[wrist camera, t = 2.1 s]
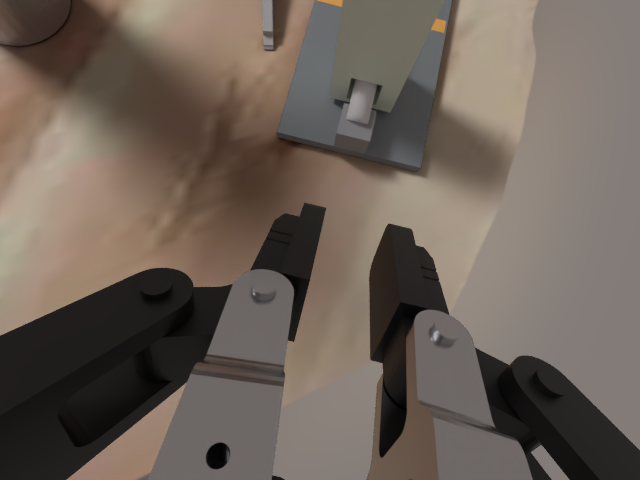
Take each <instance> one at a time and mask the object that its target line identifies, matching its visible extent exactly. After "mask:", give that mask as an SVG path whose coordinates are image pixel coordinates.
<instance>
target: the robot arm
mask: <svg viewBox="0 0 640 480" xmlns="http://www.w3.org/2000/svg"><path fill="white" fill-rule="evenodd" d="M70 4H71V0H0V43H1V44H5V45H11V46H22V45H30V44H33V43H37V42H40V41H42V40H44V39H46V38H48V37H50V36H51V35H52V34H54V33H55V32H56V31H57V30H58V29H59V28H60V27H61V26H62V25H63V24H64V22H65V20H66V19H67V17H68V14H69V11H70ZM325 211H326V208H324V207H320V206H316V205H312V204H308V203H304V206H303V208H302V211H301V214H300V217H298V216H294V215H290V214H286V213H285V214H284V215H282V216H280V217H279V218H277V219H276V220H275V221H274V223H273V225H272V227H271V229H270V232H269V233H268V235H267V237H266V240H265V241H264V243H263V245H262V247H261V250H260V252H259V254H258V256H257V258H256V260H255V262H254V264H253V266H252V268H251V270H250V271H248V272H245V273H243V274H242V275H240V276H239V277H238V278H237V279H236V280H235V281H234V283H233V284H231V285H228V286H222V287H193V283H192V281H191V279H190V278H189V277H188V276H187V275H186V274H185V273H183V272H181V271H179V270H175V269H170V268H154V269H149V270H145V271H142V272H140V273H137V274H135V275H133V276H131V277H128V278H126V279H124V280H122V281H120V282H117V283H115V284H113V285H111V286H109V287H106V288H104V289H102V290H100V291H98V292H95V293H93V294H91V295H89V296H87V297H84V298H82V299H80V300H78V301H76V302H74V303H71V304H69V305H67V306H65V307H63V308H60V309H58V310H56V311H54V312H52V313H49V314H47V315H45V316H43V317H41V318H38V319H36V320H34V321H32V322H30V323H27V324H25V325H23V326H21V327H19V328H16V329H14V330H12V331H10V332H8V333H5V334H3V335H1V336H0V480H66V479H68V478H69V477H70V476H71V475H73V474H74V473H75V472H76V471H78V470H79V469H80V468H81V467H82V466H84V465H85V464H86V463H87V462H89V461H90V460H91V459H92V458H94V457H95V456H96V455H97V454H99V453H100V452H101V451H102V450H104V449H105V448H106V447H107V446H108V445H110V444H111V443H112V442H113V441H115V440H116V439H117V438H118V437H120V436H121V435H122V434H123V433H125V432H126V431H127V430H128V429H129V428H131V427H132V426H133V425H134V424H136V423H137V422H138V421H139V420H141V419H142V418H143V417H144V416H146V415H147V414H148V413H149V412H150V411H152V410H153V409H154V408H155V407H157V406H158V405H159V404H160V403H162V402H163V401H164V400H165V399H167V398H168V397H169V396H170V395H172V394H173V393H174V392H175V391H176V390H178V389H179V388H180V387H181V386H183V385H184V384H185V383H186V382H187V384H186V386H185V389H184V391H183V394H182V396H181V399H180V401H179V404H178V406H177V409H176V411H175V414H174V416H173V419H172V421H171V424H170V426H169V429H168V431H167V434H166V436H165V439H164V441H163V444H162V446H161V449H160V451H159V454H158V456H157V459H156V461H155V464H154V466H153V469H152V471H151V474H150V476H149V479H148V480H284V479H283V478H281V477H277V476H272V473H273V465H274V457H275V450H276V442H277V434H278V427H279V418H280V411H281V403H282V396H283V388H284V378H285V373H284V364H285V356H286V349H287V341H288V340H289V341H293V342H294V340H295V336H296V332H297V328H298V324H299V320H300V316H301V312H302V308H303V304H304V300H305V297H306V293H307V289H308V285H309V281H310V277H311V272H312V268H313V263H314V259H315V255H316V250H317V246H318V241H319V237H320V233H321V228H322V224H323V220H324V215H325ZM369 285H370V358H371V360H372V361H376V362H380V363H383V374H382V376H381V377H380V379H379V381H378V384H377V393H376V407H375V421H374V436H373V450H372V461H371V466H370V470H369V473H368V476H367V479H366V480H551V478H550V477H549V476H548V474H547V473H546V472H545V471H544V469H543V468H542V467H541V465H540V464H539V463H538V461H537V460H536V459H535V458H534V456H533V455H532V454H531V451H533V450H534V449H536V448H537V447H539V446H540V445H542V446H543V447H544V448H545V449H546V451H547V452H548V453H549V454H550V456H551V457H552V458H553V459H554V461H555V462H556V463H557V464H558V466H559V467H560V468H561V469H562V470H563V472H564V473H565V474H566V475H567V477H568V478H569V479H570V480H640V450H639V449H638V448H637V447H636V446H635V445H634V444H633V443H632V442H631V441H629V439H628V438H626V436H625V435H624V434H622V432H621V431H620V430H619V429H618V428H617V427H615V425H614V424H612V422H611V421H610V420H609V419H608V418H607V417H606V416H605V415H604V414H603V413H601V412H600V410H598V409H597V407H596V406H594V405H593V404H592V403H591V402H590V401H589V400H588V399H587V398H586V397H585V396H584V395H583V394H582V393H581V392H580V391H579V390H578V389H577V388H576V387H575V386H574V385H573V384H572V383H571V382H570V381H569V380H568V379H567V378H566V377H565V376H564V375H563V374H562V373H561V372H560V371H558V370H557V369H556V368H554V367H553V366H551V365H550V364H548V363H546V362H544V361H543V360H540V359H538V358H535V357H532V356H519V357H517V358H516V359H515V360H514V361H513V362H512V363H511V364H510V365H508V364H506V363H504V362H502V361H500V360H498V359H496V358H494V357H492V356H490V355H488V354H486V353H484V352H482V351H480V350H479V349H477V348H475V346H474V342H473V339H472V337H471V335H470V334H469V332H468V330H467V329H466V328H465V327H464V326H463V325H462V324H461V323H460V322H459V321H458V320H456V319H455V318H453V317H452V316H450V315H449V312H448V308H447V305H446V302H445V298H444V295H443V292H442V288H441V285H440V282H439V278H438V275H437V272H436V268H435V264H434V261H433V258H432V257H431V256H430V255H429V253H428V252H427V251H426V250H425V248H424V247H420V246H416V244H415V240H414V236H413V232H412V229H409V228H405V227H401V226H397V225H393V224H388V225H387V227H386V229H385V231H384V234H383V236H382V239H381V241H380V244H379V246H378V249H377V251H376V254H375V256H374V259H373V262H372V265H371V269H370V276H369Z"/></svg>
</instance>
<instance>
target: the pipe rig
mask: <svg viewBox="0 0 640 480" xmlns="http://www.w3.org/2000/svg"><path fill="white" fill-rule="evenodd" d="M342 4H343V0H315V2H314V5H313V9H312V12H311V16H310V19H309V23H308V26H307V30H306V33H305V37H304V40H303V44H302V47H301V50H300V54H299V57H298V61H297V64H296V68H295V71H294V75H293V78H292V82H291V85H290V89H289V92H288V96H287V99H286V103H285V106H284V110H283V113H282V117H281V120H280V124H279V127H278V131H277V135H278V138H282V139H286V140H290V141H294V142H298V143H302V144H306V145H310V146H314V147H319V148H323V149H327V150H331V151H335V152H339V153H343V154H347V155H351V156H355V157H359V158H363V159H367V160H371V161H375V162H379V163H383V164H387V165H391V166H395V167H399V168H403V169H407V170H411V171H415V172H417V171H418V170H419V169H420V168H421V163H422V158H423V153H424V147H425V142H426V137H427V131H428V126H429V121H430V116H431V110H432V105H433V100H434V94H435V89H436V84H437V78H438V73H439V68H440V62H441V57H442V52H443V46H444V41H445V36H446V30H447V25H448V20H449V14H450V9H451V4H452V0H445V1H444V3H443V5H442V7H441V10H440V12H439V14H438V16H437V18H436V20H435V22H434V24H433V26H432V28H431V30H430V32H429V34H428V36H427V38H426V40H425V42H424V44H423V47H422V49H421V51H420V53H419V55H418V57H417V59H416V61H415V63H414V65H413V67H412V69H411V71H410V73H409V75H408V77H407V79H406V82H405V84H404V86H403V88H402V90H401V92H400V94H399V96H398V98H397V100H396V102H395V104H394V106H393V108H392V110H391V112H390V113H389V112H385V111H381V110H377V109H373V108H372V105H373V100H374V96H375V92H376V87H377V84H374V83H370V82H366V81H362V80H358V79H356V80H355V84H354V88H353V92H352V96H351V100H350V102H346V101H342V100H338V99H334V98H330V90H331V83H332V76H333V69H334V61H335V54H336V47H337V40H338V32H339V25H340V18H341V11H342Z"/></svg>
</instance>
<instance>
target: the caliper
mask: <svg viewBox="0 0 640 480" xmlns="http://www.w3.org/2000/svg"><path fill="white" fill-rule="evenodd" d="M262 17H263V40H264V50H274V40H273V39H274V22H273V0H262Z"/></svg>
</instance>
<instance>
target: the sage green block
mask: <svg viewBox="0 0 640 480" xmlns="http://www.w3.org/2000/svg"><path fill="white" fill-rule="evenodd" d="M444 1H445V0H343V4H342V11H341V18H340V25H339V32H338V40H337V47H336V54H335V61H334V69H333V76H332V83H331V90H330V98H334V99H338V100H342V101H346V102H350V100H351V96H352V92H353V88H354V84H355V80H356V79H358V80H362V81H366V82H370V83H374V84H377V87H376V92H375V96H374V100H373V105H372V108H373V109H377V110H381V111H385V112H389V113H390V112H391V110H392V108H393V106H394V104H395V102H396V100H397V98H398V96H399V94H400V92H401V90H402V88H403V86H404V84H405V82H406V79H407V77H408V75H409V73H410V71H411V69H412V67H413V65H414V63H415V61H416V59H417V57H418V55H419V53H420V51H421V49H422V47H423V44H424V42H425V40H426V38H427V36H428V34H429V32H430V30H431V28H432V26H433V24H434V22H435V20H436V18H437V16H438V14H439V12H440V10H441V7H442V5H443V3H444Z"/></svg>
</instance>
